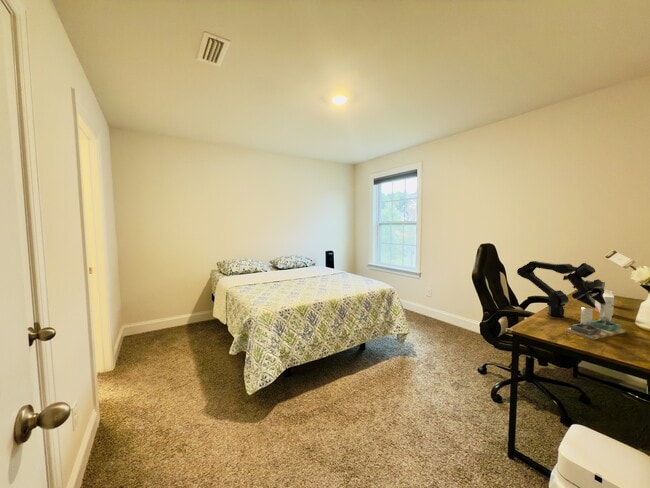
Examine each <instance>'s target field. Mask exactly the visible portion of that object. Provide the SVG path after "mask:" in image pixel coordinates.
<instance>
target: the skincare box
mask: <svg viewBox="0 0 650 488" xmlns="http://www.w3.org/2000/svg"><path fill="white" fill-rule="evenodd" d="M594 280H595V279H585V281H588V282H594ZM602 282H603V283H602V286H601V287H600V288H603V289H605V286H606V282H605V281H602ZM594 288H598V287H594ZM592 290H593V289H592ZM603 294H604V293H603ZM589 298H590V299H591V301H592V302H593V303H594V305H595V300H594V299H593V298H592V296H590V295H589Z"/></svg>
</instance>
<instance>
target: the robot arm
mask: <svg viewBox="0 0 650 488" xmlns="http://www.w3.org/2000/svg"><path fill="white" fill-rule="evenodd" d="M536 268H537V269H542V270H549V271H553V272H555V273H558V274H560V275H563V278H562V280H563V281H568V282H570V284H571V285H572V288H573V289H576V290H577V291H575V292H573V293H572V294H571V297H572V298H573V299H574V300H576V301H579V302H581V303H583V304H585V305H588V306H589V307H590V308H592V309H595V307H596V306H595V304H594V303H593V302H592V301H591V299H590V298H589V295H590V296H592V298H593V299H594V300H596V301H597V302H599V303H600V304H606V302H605V300H604V298H603V293H604V291H605V290H606V289H605V288H604V289H605V290H604V289H603V288H600V287H601V286H602V283H603V282H604V281H602V280H600V279H598V278H597V279H593V280H594V282H588V281H586V280H585V279H586V278H588V277H590V276H591V275H593V274H594V273H596V269H595V268H594V267H593V266H591V265H590V264H588V263H586V262H583V263H581V264H580V265H579V266H573V265H572V264H571V263H550V262H542V261H536V260H535V261H534V260H532V261H529V262H528V263H527V264H524V265H523V266H521V267H518V268H517V270H516V274H517V275H518V276H520V277H522V278H523V279H526V280H528V281H530V282H531V283H532V284H533V285H535V286H536V287H537V288H538V289H540V290H541V291H542V292H543V293H545V294H546V295H547V297H548V299H549V300H548V301H546V305H547V306H548V312H547V315H549V316H550V317H555V318H565V309H564V307H565V306H566V304H568V303H569V297H568V296H567V294H566V293H564V292H563V291H562V290H555V289H553V288H552V287H551V286H549V285H548V284H547V283H546V282H544V281H543V280H542V279H541V278H539V277H538V276H536V274H535V270H536ZM566 274H567V275H566ZM594 287H598V288H594ZM592 289H593V290H592Z"/></svg>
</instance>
